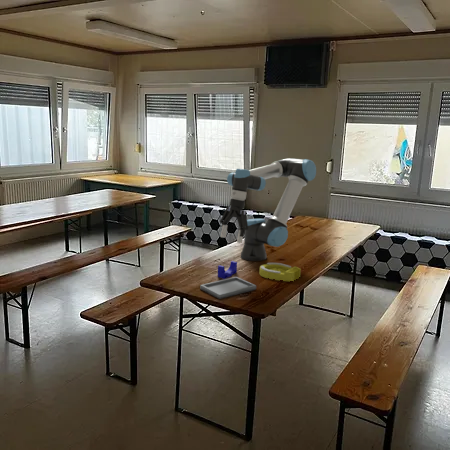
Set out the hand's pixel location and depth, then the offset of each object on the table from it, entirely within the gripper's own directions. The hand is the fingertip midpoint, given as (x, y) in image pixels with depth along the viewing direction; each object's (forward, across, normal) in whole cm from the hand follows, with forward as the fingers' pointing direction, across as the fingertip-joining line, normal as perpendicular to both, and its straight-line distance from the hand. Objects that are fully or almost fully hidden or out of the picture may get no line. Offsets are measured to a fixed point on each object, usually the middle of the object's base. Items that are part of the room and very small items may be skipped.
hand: (230, 240), depth 234 cm
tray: (+21, +17, -11) cm, 29 cm away
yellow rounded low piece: (+15, +15, +24) cm, 32 cm away
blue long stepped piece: (+19, +1, +2) cm, 19 cm away
